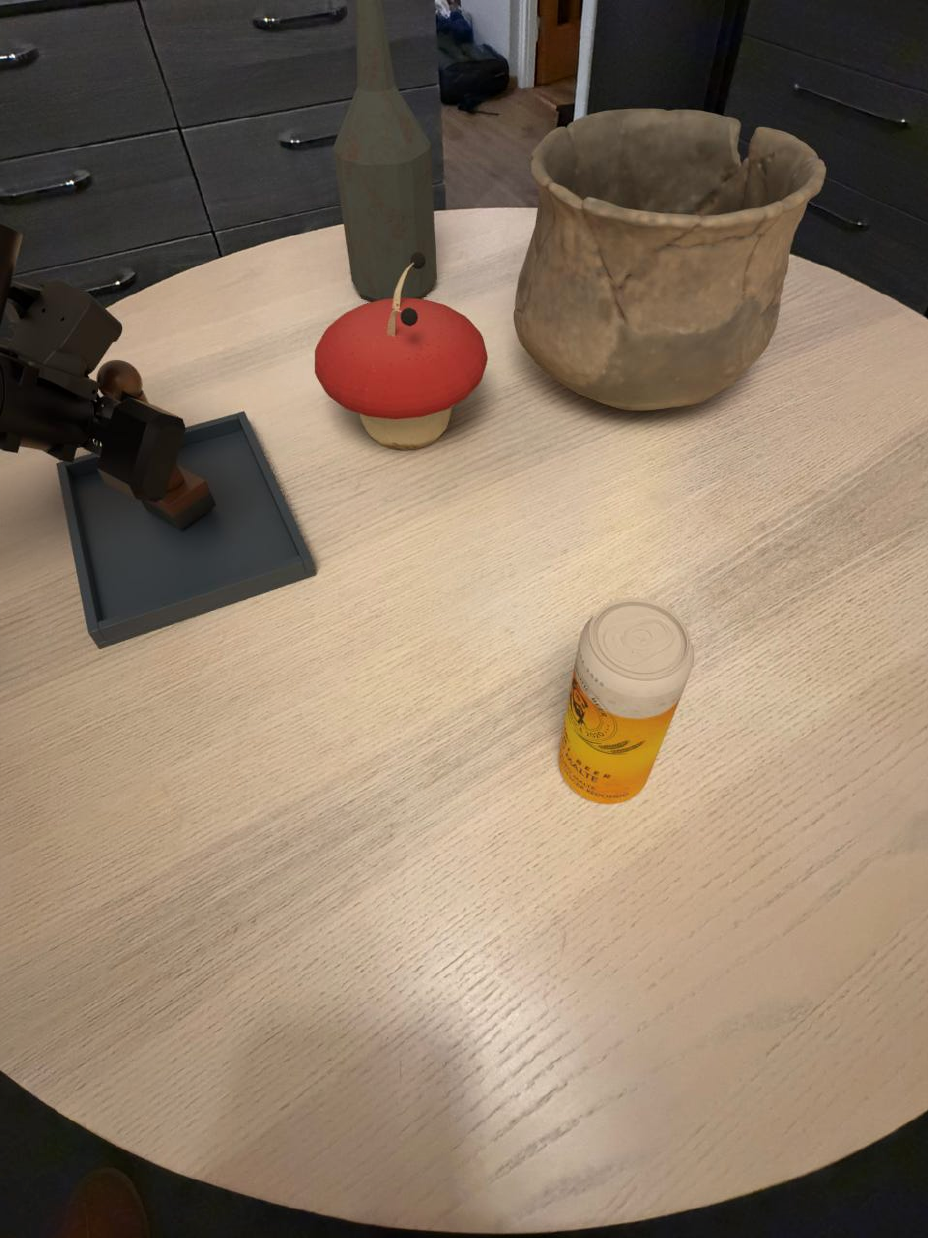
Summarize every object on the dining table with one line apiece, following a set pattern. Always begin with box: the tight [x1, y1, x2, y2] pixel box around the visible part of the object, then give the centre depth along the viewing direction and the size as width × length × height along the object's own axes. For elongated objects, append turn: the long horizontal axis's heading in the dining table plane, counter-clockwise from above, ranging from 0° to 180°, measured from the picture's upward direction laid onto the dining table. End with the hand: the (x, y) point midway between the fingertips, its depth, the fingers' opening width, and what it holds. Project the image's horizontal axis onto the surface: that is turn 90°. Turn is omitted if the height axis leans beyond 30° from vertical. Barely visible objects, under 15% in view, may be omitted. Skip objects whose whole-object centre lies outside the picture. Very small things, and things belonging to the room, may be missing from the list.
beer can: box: [558, 596, 695, 805], centre depth 45 cm, size 6×6×15 cm
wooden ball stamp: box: [95, 359, 216, 531], centre depth 61 cm, size 5×4×14 cm
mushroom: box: [314, 252, 489, 451], centre depth 68 cm, size 16×16×15 cm
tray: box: [55, 410, 317, 650], centre depth 65 cm, size 18×22×2 cm
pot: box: [513, 108, 827, 412], centre depth 70 cm, size 25×24×21 cm
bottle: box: [332, 0, 438, 303], centre depth 79 cm, size 10×10×30 cm
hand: (165, 437), depth 62 cm, fingers closed on wooden ball stamp, 3 cm apart
